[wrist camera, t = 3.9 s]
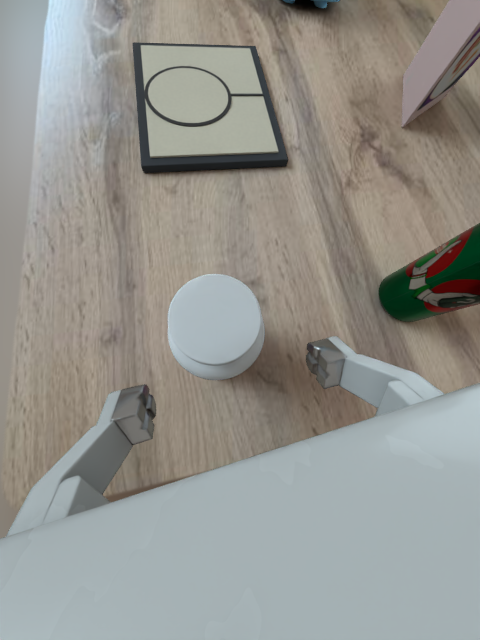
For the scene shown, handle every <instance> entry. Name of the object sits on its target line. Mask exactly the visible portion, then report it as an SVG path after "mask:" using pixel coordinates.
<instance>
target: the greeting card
mask: <svg viewBox="0 0 480 640" xmlns="http://www.w3.org/2000/svg"><path fill="white" fill-rule="evenodd" d="M479 57H480V0H449V2H448V4H447V5H446V7H445V8H444V10H443V12H442V13H441V15H440V17H439V18H438V20H437V21H436V23H435V25H434V26H433V28H432V30H431V31H430V33H429V35H428V36H427V38H426V39H425V41H424V43H423V44H422V46H421V48H420V49H419V51H418V52H417V54H416V56H415V57H414V59H413V61H412V62H411V64H410V66H409V67H408V69H407V70H406V72H405V74H404V75H403V105H402V127H404V126H405V125H407V124H408V123H409V122H411V121H412V120H413V119H415V118H416V117H418V116H419V115H420V114H422V113H423V112H425V111H426V110H427V109H429V108H430V107H431V106H433V105H434V104H436V103H437V102H438V101H440V100H441V99H443V98H444V97H445V96H446V95H447V94H448V93H449V91H450V90H451V89H452V88H453V86H454V85H455V84H456V83H457V82H458V80H459V79H460V78H461V77H462V76H463V75H464V74H465V72H466V71H467V70H468V69H469V68H470V67H471V66H472V65H473V64H474V62H475V61H476V60H477V59H478V58H479Z"/></svg>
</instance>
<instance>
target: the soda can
mask: <svg viewBox="0 0 480 640" xmlns="http://www.w3.org/2000/svg"><path fill="white" fill-rule="evenodd" d="M379 300H380V303H381V305H382V307H383V308H384V310H385V311H386V312H387V313H388V314H390V315H391V316H393V317H394V318H396V319H398V320H401V321H405V322H413V321H418V320H421V319H425V318H429V317H433V316H436V315H440V314H444V313H448V312H451V311H455V310H459V309H463V308H466V307H470V306H474V305H478V304H480V223H479V224H477V225H475V226H473V227H472V228H470V229H468V230H466V231H465V232H463V233H461V234H460V235H458V236H456V237H454V238H453V239H451V240H449V241H448V242H446V243H444V244H442V245H441V246H439V247H437V248H435V249H434V250H432V251H430V252H429V253H427V254H425V255H423V256H422V257H420V258H418V259H417V260H415V261H413V262H411V263H410V264H408V265H406V266H404V267H403V268H401V269H399V270H398V271H396V272H394V273H392V274H391V275H389V276H387V277H386V278H385V279H384V280H383V281H382V282H381V284H380V287H379Z"/></svg>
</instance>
